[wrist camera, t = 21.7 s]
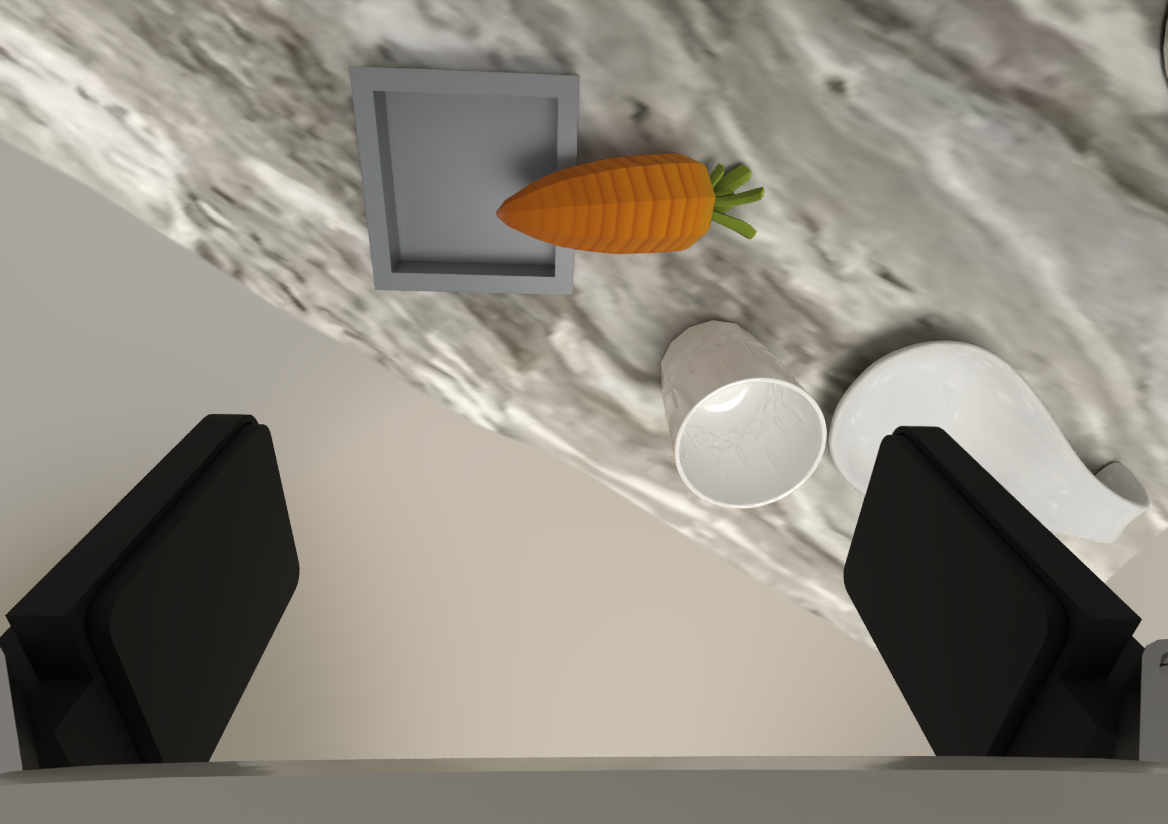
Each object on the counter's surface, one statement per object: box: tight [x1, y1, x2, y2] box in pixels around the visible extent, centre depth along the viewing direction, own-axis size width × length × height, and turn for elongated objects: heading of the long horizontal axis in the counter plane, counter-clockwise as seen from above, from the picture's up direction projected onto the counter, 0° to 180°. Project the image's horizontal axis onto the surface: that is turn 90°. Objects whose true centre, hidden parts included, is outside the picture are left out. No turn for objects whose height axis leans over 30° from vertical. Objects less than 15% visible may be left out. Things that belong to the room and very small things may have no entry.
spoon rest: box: [829, 340, 1150, 543], centre depth 43 cm, size 24×12×7 cm, turn 67°
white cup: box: [661, 320, 827, 508], centre depth 38 cm, size 8×8×10 cm
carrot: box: [496, 153, 764, 254], centre depth 34 cm, size 5×5×15 cm
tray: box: [349, 66, 579, 295], centre depth 35 cm, size 11×11×3 cm
